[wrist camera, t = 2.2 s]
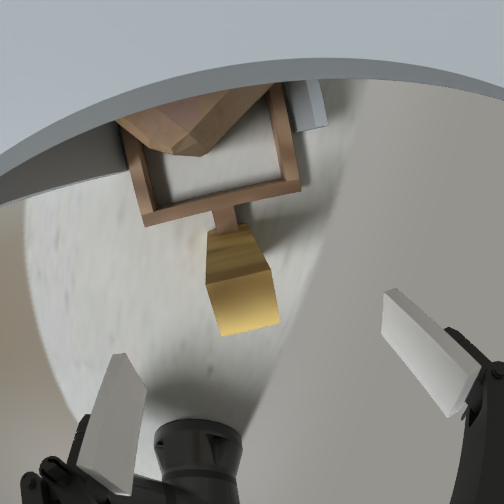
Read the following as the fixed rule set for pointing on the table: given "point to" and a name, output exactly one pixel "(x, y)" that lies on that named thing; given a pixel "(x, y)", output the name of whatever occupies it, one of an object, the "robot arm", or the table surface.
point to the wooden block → (192, 120)
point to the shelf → (209, 66)
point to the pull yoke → (229, 229)
